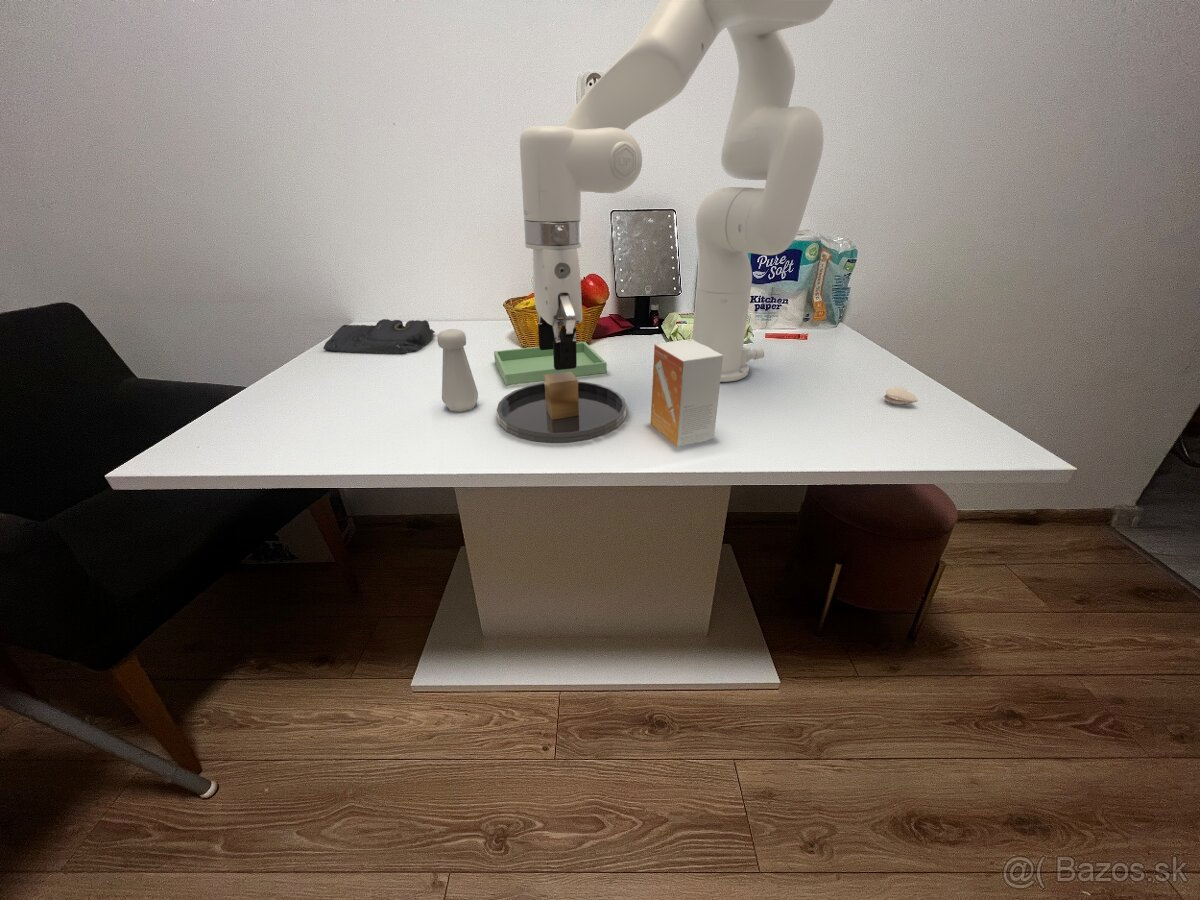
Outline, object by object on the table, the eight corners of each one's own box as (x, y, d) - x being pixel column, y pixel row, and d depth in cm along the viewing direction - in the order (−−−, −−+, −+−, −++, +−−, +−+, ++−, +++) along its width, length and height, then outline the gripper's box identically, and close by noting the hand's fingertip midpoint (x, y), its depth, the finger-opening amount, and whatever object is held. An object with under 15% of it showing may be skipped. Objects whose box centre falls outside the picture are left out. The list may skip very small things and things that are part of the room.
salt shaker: (470, 417, 81) (459, 337, 75) (437, 414, 82) (423, 335, 76) (485, 403, 86) (475, 326, 80) (453, 400, 87) (442, 325, 81)
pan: (602, 385, 93) (602, 375, 92) (645, 433, 76) (645, 421, 75) (490, 400, 87) (489, 389, 86) (510, 455, 70) (508, 442, 69)
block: (572, 406, 83) (571, 371, 81) (579, 415, 80) (578, 380, 77) (546, 409, 82) (543, 374, 79) (551, 419, 79) (549, 383, 76)
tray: (585, 353, 109) (584, 341, 108) (606, 375, 97) (606, 362, 96) (495, 363, 104) (493, 351, 103) (506, 387, 92) (504, 374, 91)
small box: (649, 426, 78) (653, 343, 71) (685, 419, 80) (692, 337, 74) (676, 450, 71) (683, 360, 65) (714, 441, 73) (725, 354, 67)
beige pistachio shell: (888, 396, 87) (892, 382, 86) (920, 404, 84) (924, 390, 83) (878, 403, 85) (882, 389, 83) (911, 412, 82) (916, 397, 80)
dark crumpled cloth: (354, 332, 124) (349, 313, 122) (441, 334, 122) (438, 314, 120) (317, 352, 111) (311, 330, 109) (414, 354, 109) (409, 332, 107)
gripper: (599, 241, 62) (598, 374, 70) (563, 229, 77) (566, 340, 85) (539, 243, 60) (545, 380, 68) (514, 230, 75) (521, 344, 83)
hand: (556, 358), depth 76 cm, fingers open, 9 cm apart
